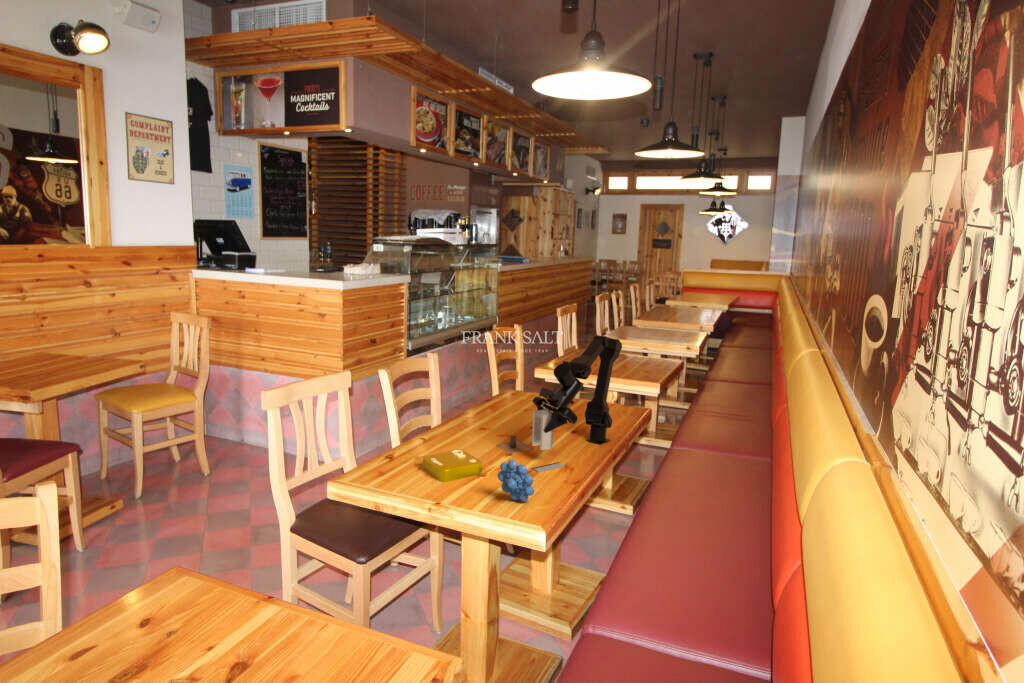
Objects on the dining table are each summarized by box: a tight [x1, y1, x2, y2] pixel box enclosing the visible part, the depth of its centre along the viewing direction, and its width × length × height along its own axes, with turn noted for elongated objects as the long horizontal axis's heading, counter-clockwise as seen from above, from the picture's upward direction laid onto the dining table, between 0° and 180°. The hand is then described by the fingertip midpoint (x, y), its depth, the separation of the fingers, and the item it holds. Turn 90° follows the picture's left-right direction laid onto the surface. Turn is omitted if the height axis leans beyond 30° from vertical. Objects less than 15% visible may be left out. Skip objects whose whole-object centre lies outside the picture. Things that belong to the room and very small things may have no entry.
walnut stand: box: [495, 435, 535, 454], centre depth 218 cm, size 10×10×5 cm
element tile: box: [422, 449, 483, 483], centre depth 196 cm, size 15×15×5 cm
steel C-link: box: [531, 409, 554, 451], centre depth 202 cm, size 4×6×12 cm
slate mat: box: [530, 461, 565, 473], centre depth 204 cm, size 11×11×1 cm
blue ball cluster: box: [497, 459, 535, 503], centre depth 173 cm, size 12×7×12 cm, turn 62°
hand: (539, 429), depth 202 cm, fingers closed on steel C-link, 6 cm apart
